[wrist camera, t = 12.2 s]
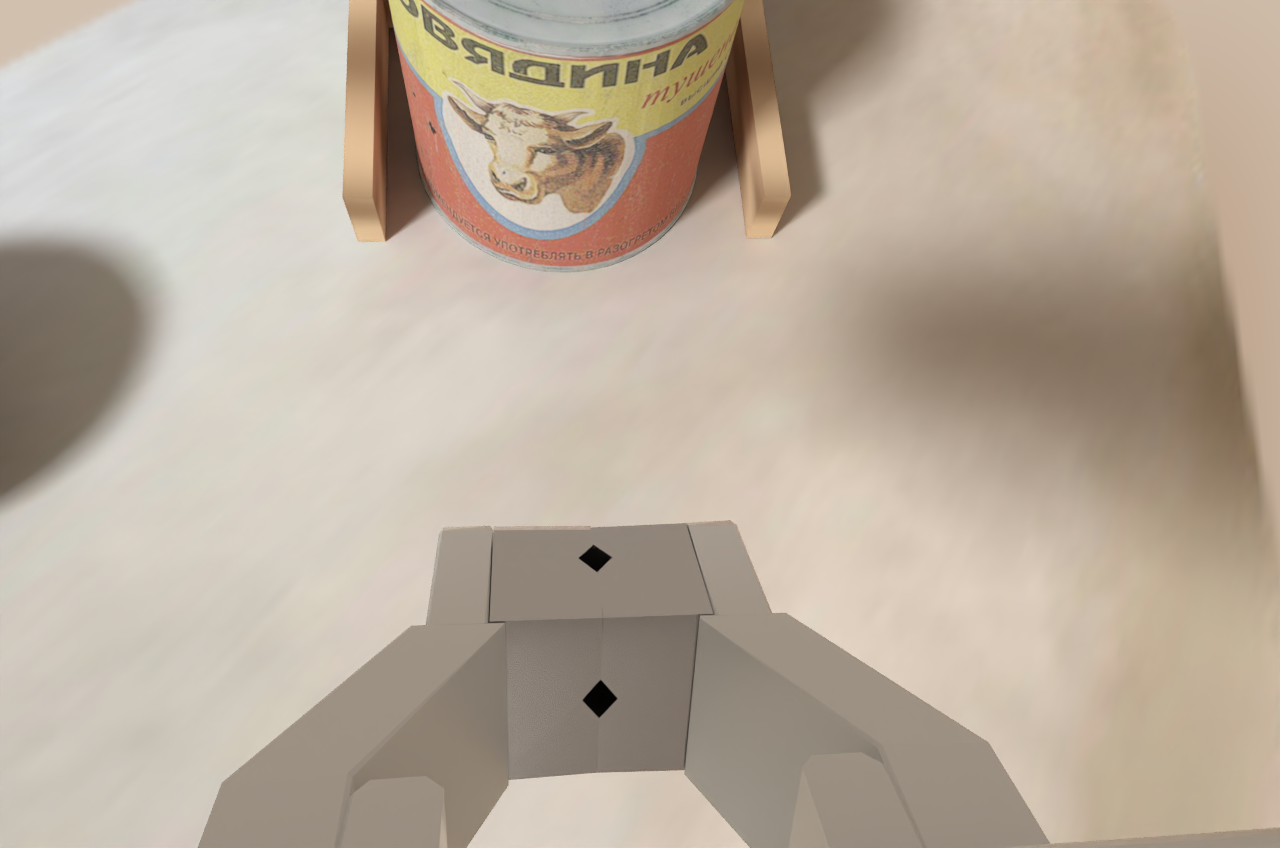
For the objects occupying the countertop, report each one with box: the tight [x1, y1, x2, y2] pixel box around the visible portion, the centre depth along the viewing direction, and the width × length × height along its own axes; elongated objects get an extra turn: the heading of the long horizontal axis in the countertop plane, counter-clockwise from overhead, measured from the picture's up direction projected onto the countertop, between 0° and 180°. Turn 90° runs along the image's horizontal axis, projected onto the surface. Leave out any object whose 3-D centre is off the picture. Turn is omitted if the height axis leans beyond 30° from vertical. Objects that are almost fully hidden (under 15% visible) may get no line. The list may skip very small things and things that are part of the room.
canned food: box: [389, 0, 745, 272], centre depth 31 cm, size 11×11×12 cm
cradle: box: [343, 0, 791, 241], centre depth 35 cm, size 11×16×5 cm
